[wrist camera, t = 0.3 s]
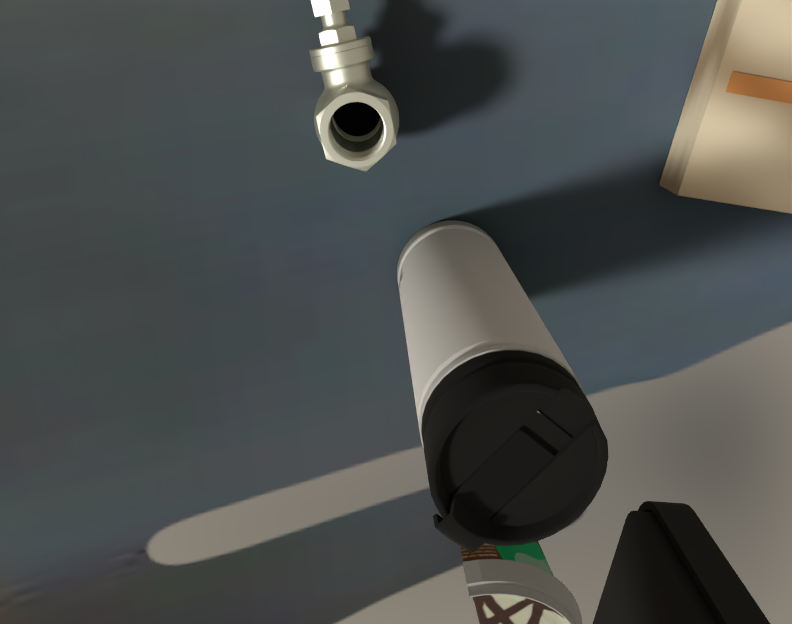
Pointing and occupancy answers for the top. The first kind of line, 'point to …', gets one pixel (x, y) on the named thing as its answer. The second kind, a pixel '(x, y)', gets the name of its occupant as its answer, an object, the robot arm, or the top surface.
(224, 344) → the top surface
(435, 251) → the travel mug
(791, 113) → the fader panel
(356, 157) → the valve
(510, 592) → the food container
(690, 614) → the robot arm
